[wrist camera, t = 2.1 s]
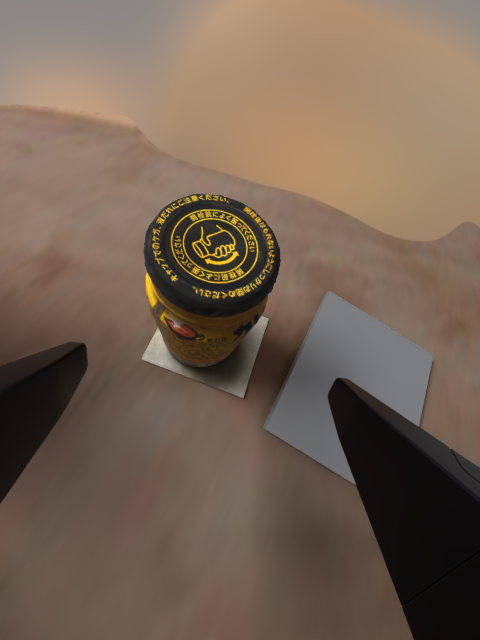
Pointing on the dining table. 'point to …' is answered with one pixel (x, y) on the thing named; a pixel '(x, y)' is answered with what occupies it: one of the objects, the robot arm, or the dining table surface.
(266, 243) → the condiment
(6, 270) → the dining table surface
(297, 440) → the board
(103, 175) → the dining table surface
